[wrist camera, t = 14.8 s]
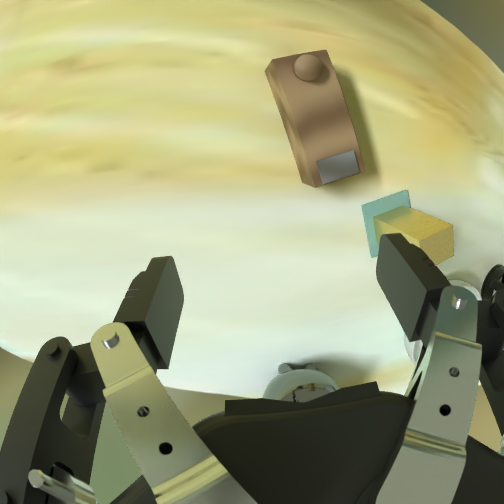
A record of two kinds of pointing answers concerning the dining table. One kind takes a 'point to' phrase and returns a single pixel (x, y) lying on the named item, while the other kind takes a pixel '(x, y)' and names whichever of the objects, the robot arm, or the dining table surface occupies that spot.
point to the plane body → (315, 117)
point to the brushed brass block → (417, 231)
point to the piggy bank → (300, 384)
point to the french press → (492, 282)
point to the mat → (378, 208)
